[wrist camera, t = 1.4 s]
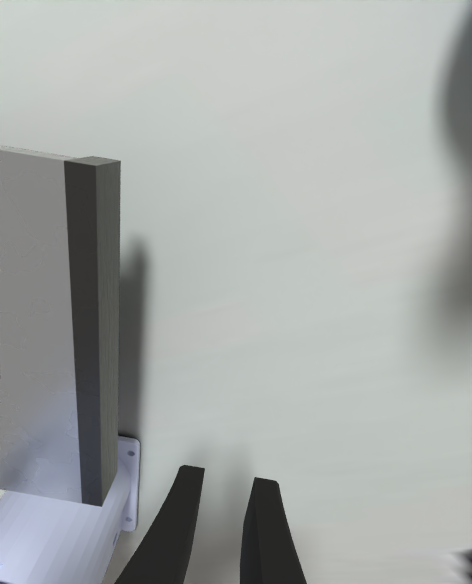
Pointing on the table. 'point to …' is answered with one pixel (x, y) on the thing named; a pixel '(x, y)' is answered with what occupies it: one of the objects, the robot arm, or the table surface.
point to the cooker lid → (59, 324)
